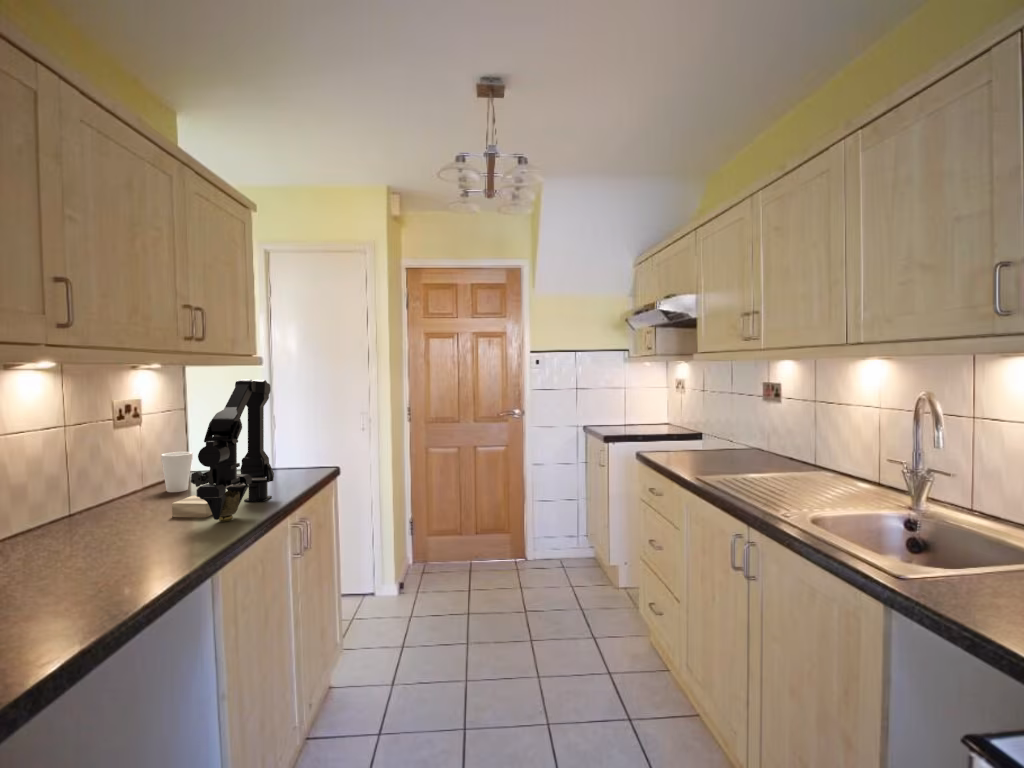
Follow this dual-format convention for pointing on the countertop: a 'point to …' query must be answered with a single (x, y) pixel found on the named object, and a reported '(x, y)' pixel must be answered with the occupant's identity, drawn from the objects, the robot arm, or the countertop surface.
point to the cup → (229, 506)
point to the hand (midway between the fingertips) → (225, 515)
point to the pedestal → (191, 508)
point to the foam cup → (176, 470)
